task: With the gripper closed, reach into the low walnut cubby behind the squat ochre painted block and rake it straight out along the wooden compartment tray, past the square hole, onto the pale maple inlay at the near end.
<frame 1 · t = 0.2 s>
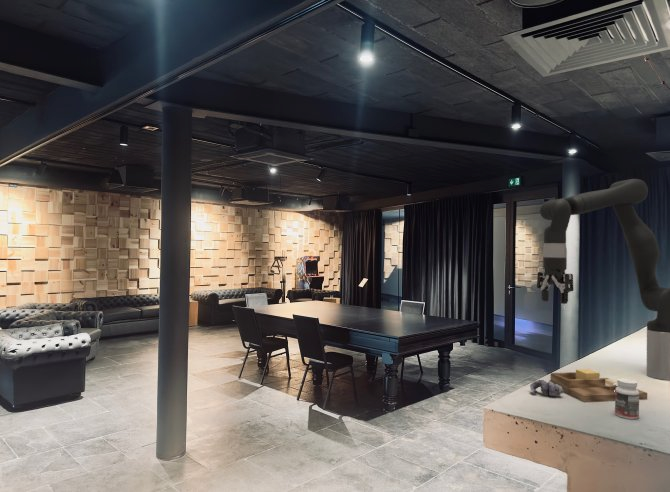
hand: (554, 302, 161), 28 cm above the counter, fingers open, 8 cm apart
block: (587, 383, 153), point 2 cm above the counter, touching wooden compartment tray
seashell: (546, 396, 146), on the counter
pill bottle: (626, 416, 128), on the counter
wooden compartment tray: (596, 392, 150), on the counter
cubby: (577, 379, 152), on the wooden compartment tray, point 3 cm above the counter
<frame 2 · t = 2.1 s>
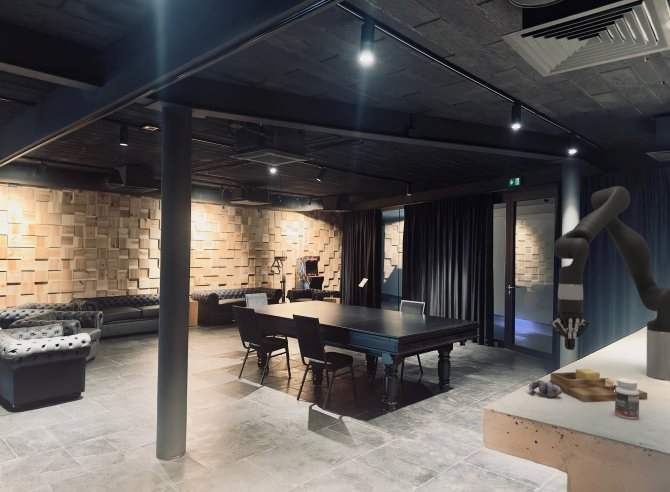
hand: (569, 349, 152), 13 cm above the counter, fingers closed
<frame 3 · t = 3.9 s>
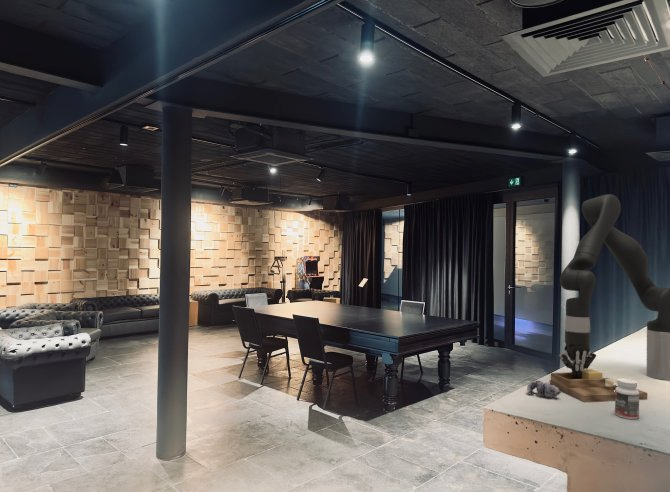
hand: (576, 381, 152), 3 cm above the counter, fingers closed
block: (590, 383, 153), point 2 cm above the counter, touching wooden compartment tray, gripper
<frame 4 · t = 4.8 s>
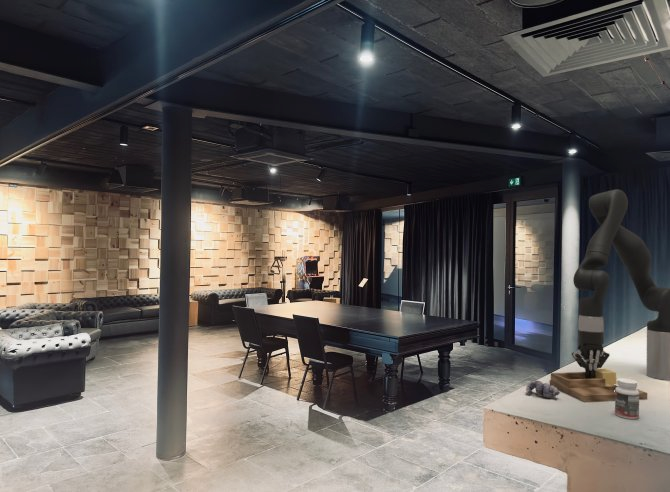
hand: (590, 380, 153), 3 cm above the counter, fingers closed
block: (603, 382, 154), point 2 cm above the counter, touching wooden compartment tray, gripper
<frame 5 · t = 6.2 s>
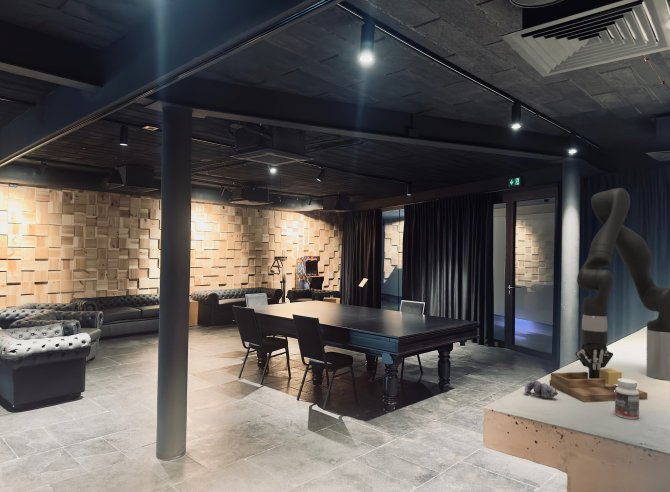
hand: (594, 380, 153), 3 cm above the counter, fingers closed
block: (609, 382, 154), point 2 cm above the counter, touching wooden compartment tray
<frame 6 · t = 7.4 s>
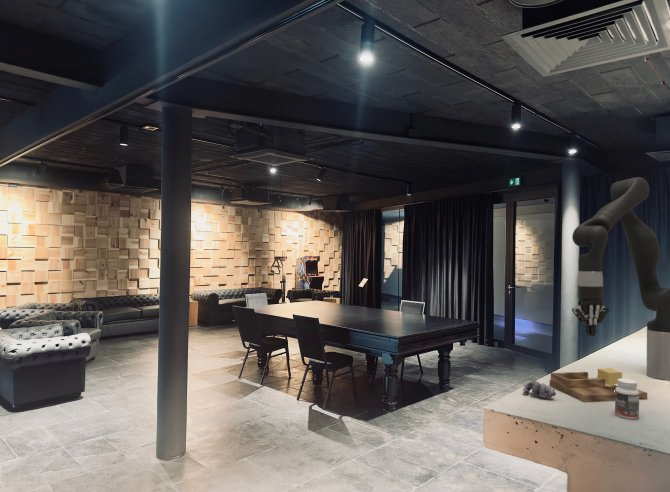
hand: (590, 335, 155), 18 cm above the counter, fingers closed
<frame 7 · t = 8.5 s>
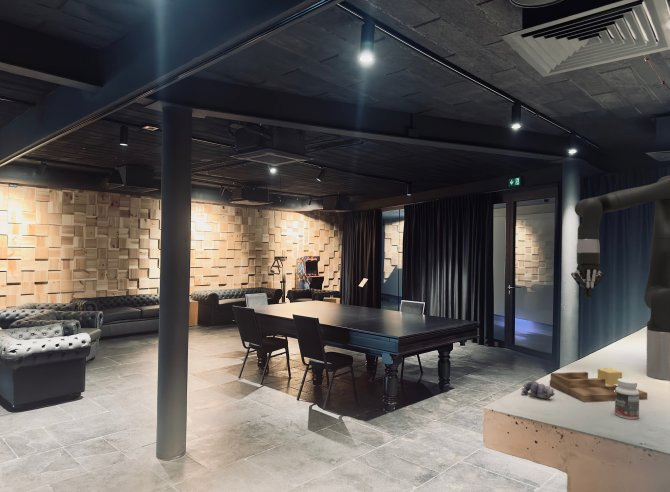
hand: (587, 297, 171), 29 cm above the counter, fingers closed
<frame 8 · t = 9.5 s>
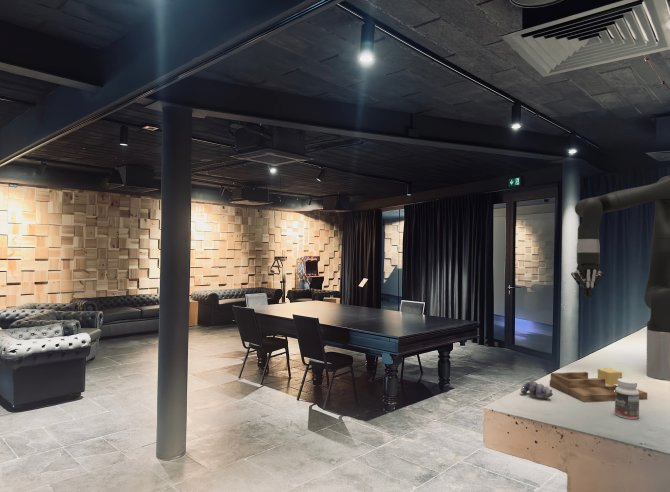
hand: (587, 297, 171), 29 cm above the counter, fingers closed
at the end: block inside the target area on the wooden compartment tray (0.6 cm from its centre), point 2.0 cm above the wooden compartment tray's base; block tilted 0° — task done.
